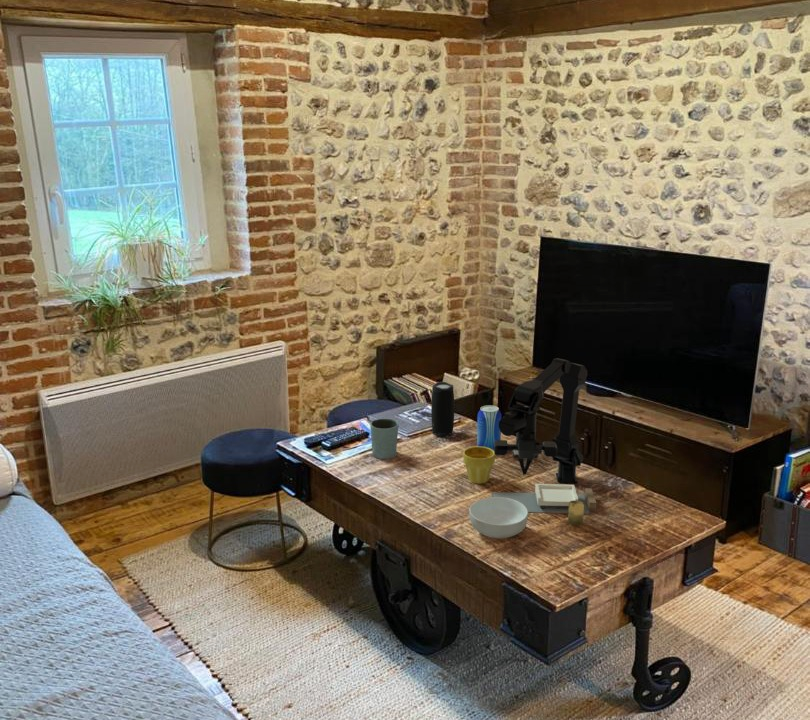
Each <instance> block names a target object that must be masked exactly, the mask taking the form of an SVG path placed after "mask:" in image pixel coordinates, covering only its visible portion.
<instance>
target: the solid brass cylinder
mask: <svg viewBox="0 0 810 720" xmlns="http://www.w3.org/2000/svg"><path fill="white" fill-rule="evenodd" d="M584 515H585V514H584V503H583V502H581V501H570V502H569V509H568V513H567V523H568V524H569V525H571V526H574V527H579V526H583V524H584Z"/></svg>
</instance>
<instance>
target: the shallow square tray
mask: <svg viewBox="0 0 810 720" xmlns="http://www.w3.org/2000/svg"><path fill="white" fill-rule="evenodd" d="M534 487H535V488H534V491H535V492H534V493H536V498H537V503H538V505H540V508H541V509H544V508H545V505H547V506H569V502H570V501H578V496H577V494H578V493H577V491H576V487H575V484H565V483H564V484H563V483H562V484H561V483H559V484H556V483H553V484H552V483H535V485H534Z"/></svg>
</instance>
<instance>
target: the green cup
mask: <svg viewBox="0 0 810 720" xmlns="http://www.w3.org/2000/svg"><path fill="white" fill-rule="evenodd" d="M369 425H370V426H369V427H370V439H371V451H372V452H371V453H372V457H373V458H375V459H378V460H389V459H393V458H395V457H396V456H397V450H398V449H397V447H398V434H399V433H398V432H399V422H398V421H397V420H396V419H394V418H386V417H384V418H383V417H381V418H380V417H379V418H377V419H372V421H370V423H369Z"/></svg>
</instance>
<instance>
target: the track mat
mask: <svg viewBox="0 0 810 720" xmlns="http://www.w3.org/2000/svg"><path fill="white" fill-rule="evenodd" d="M584 495H585V493H584V494H582V493H581V494H580V493H577V496H578V501H581V502H583V503H584V515H590V513H591V512H589V509H588V506H587V503H586V500H585V497H584ZM491 497H504V498H510V499H513V500H516V501H518V502H520V503H522V504H523V505H524V506H525V507H526V508H527V510H528V513H535V514H536V513H537V514H538V513H539V514H540V513H541V514H568V509H569V506H547V505H545V508H544V509H541V508H540V505H538V503H537V498H536V492H508V491H507V492H504V491H501V492H498V491H492V492H491Z"/></svg>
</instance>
